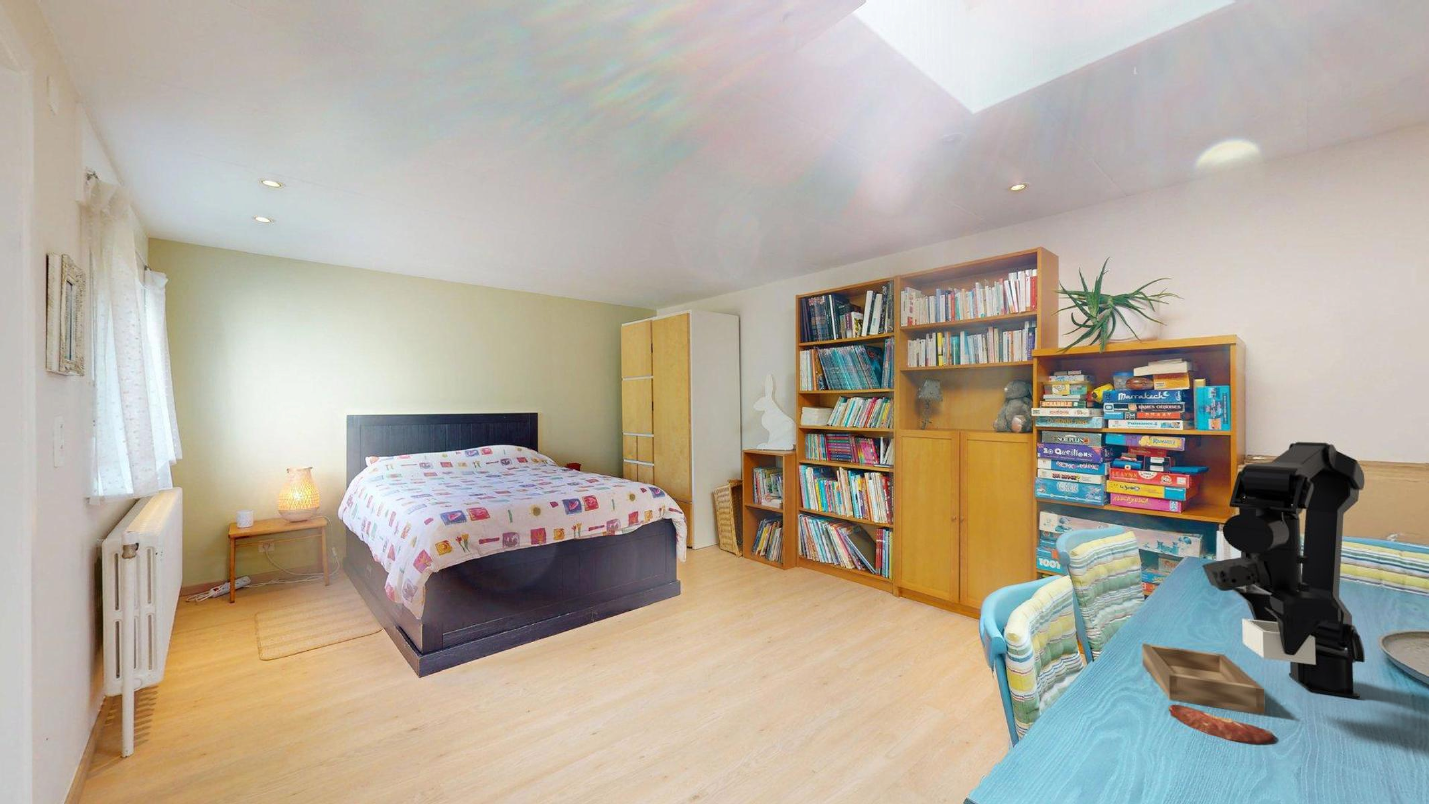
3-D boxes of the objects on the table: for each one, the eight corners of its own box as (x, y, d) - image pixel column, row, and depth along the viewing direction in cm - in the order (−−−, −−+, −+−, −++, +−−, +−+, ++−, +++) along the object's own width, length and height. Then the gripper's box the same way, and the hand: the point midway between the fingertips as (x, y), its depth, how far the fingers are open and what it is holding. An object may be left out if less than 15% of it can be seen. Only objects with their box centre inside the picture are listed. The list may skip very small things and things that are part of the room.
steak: (1172, 694, 90) (1277, 724, 82) (1172, 705, 90) (1277, 737, 81) (1163, 711, 85) (1274, 745, 76) (1163, 722, 85) (1274, 758, 76)
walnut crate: (1224, 677, 99) (1224, 654, 99) (1265, 715, 86) (1264, 689, 87) (1142, 665, 104) (1142, 643, 104) (1169, 699, 91) (1169, 674, 91)
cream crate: (1291, 648, 88) (1290, 623, 88) (1315, 664, 82) (1314, 637, 82) (1242, 643, 90) (1242, 618, 90) (1263, 658, 84) (1262, 631, 84)
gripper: (1185, 530, 98) (1187, 619, 98) (1239, 554, 81) (1242, 662, 80) (1266, 535, 94) (1268, 628, 94) (1341, 562, 77) (1345, 675, 76)
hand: (1277, 646), depth 86 cm, fingers closed on cream crate, 6 cm apart
